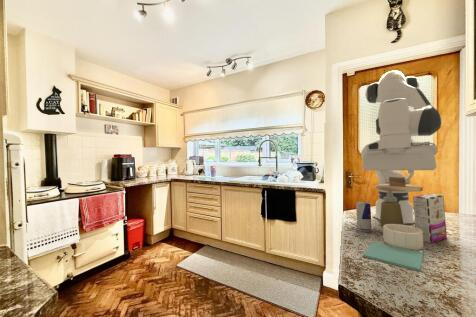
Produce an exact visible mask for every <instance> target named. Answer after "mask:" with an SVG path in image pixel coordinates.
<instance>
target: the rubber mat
mask: <svg viewBox="0 0 476 317" xmlns="http://www.w3.org/2000/svg"><path fill="white" fill-rule="evenodd" d="M362 257H363V258H368V259H371V260H375V261H380V262H383V263H387V264H391V265H394V266H398V267H403V268H406V269H409V270H414V271H418V272H421V268H422V265H423V259H424V251H420V250H409V249H404V248H400V247H395V246H390V245H388V244H386V243H380V242H375V241H373V242H372V243H371V244H370V245H369V246H368V248H367V249H366V250H365V251H364V253H363V254H362Z"/></svg>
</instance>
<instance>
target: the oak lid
mask: <svg viewBox="0 0 476 317" xmlns="http://www.w3.org/2000/svg"><path fill="white" fill-rule="evenodd" d="M405 177H406V176H405ZM405 177H389V184H381V185H379V184H375V185H374V187H375V188H374V189H375V190H378V191H380V190H385V191H402V192H408V193H409V192H424V186H422V185H414V184H407V185H406V184H405V183H404V182H405V181H404V179H405Z"/></svg>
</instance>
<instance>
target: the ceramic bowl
mask: <svg viewBox="0 0 476 317" xmlns="http://www.w3.org/2000/svg"><path fill="white" fill-rule="evenodd" d="M382 234H383V235H382V236H383V242H384V244H385V245H390V246H395V247H400V248H404V249H409V250H414V251H422V250H423V249H424V243H425V242H424V241H423V230H421V229H419V228H416V227H415V226H412V225H407V224H404V225H401V224H386V225H384V226H383V228H382Z"/></svg>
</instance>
